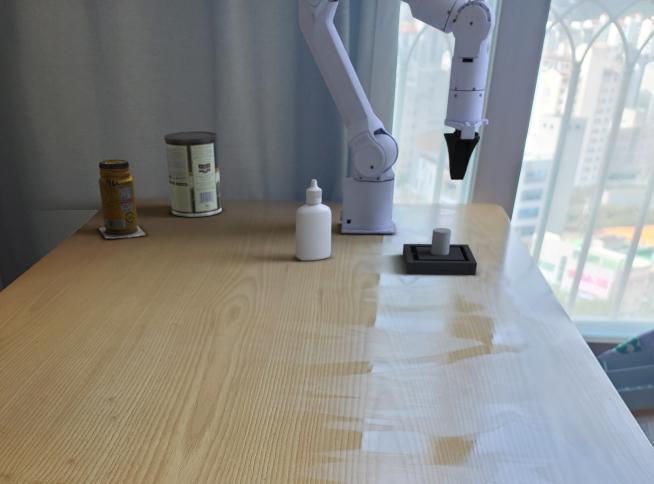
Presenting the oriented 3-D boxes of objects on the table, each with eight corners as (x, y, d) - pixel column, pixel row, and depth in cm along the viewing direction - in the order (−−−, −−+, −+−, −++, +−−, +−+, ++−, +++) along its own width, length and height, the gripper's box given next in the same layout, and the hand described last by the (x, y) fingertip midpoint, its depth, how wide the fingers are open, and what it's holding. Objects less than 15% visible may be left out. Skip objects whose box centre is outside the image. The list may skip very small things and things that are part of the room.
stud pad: (418, 266, 116) (421, 235, 114) (415, 254, 122) (417, 224, 119) (464, 267, 116) (467, 236, 113) (458, 254, 122) (462, 224, 119)
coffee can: (192, 203, 157) (186, 129, 150) (231, 209, 153) (228, 133, 145) (160, 213, 150) (153, 136, 142) (201, 219, 146) (195, 140, 138)
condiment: (137, 225, 143) (129, 157, 136) (146, 236, 136) (138, 164, 129) (98, 229, 141) (88, 159, 134) (105, 240, 134) (96, 168, 127)
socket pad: (406, 273, 115) (407, 262, 114) (402, 254, 124) (403, 243, 123) (475, 274, 115) (477, 263, 114) (466, 255, 123) (468, 244, 122)
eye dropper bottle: (297, 253, 125) (297, 176, 119) (331, 254, 125) (333, 177, 118) (294, 261, 122) (294, 182, 115) (328, 262, 121) (330, 182, 114)
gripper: (499, 93, 115) (486, 187, 122) (485, 85, 127) (474, 171, 134) (452, 94, 115) (443, 187, 123) (443, 85, 127) (434, 171, 135)
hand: (456, 179), depth 129 cm, fingers closed
